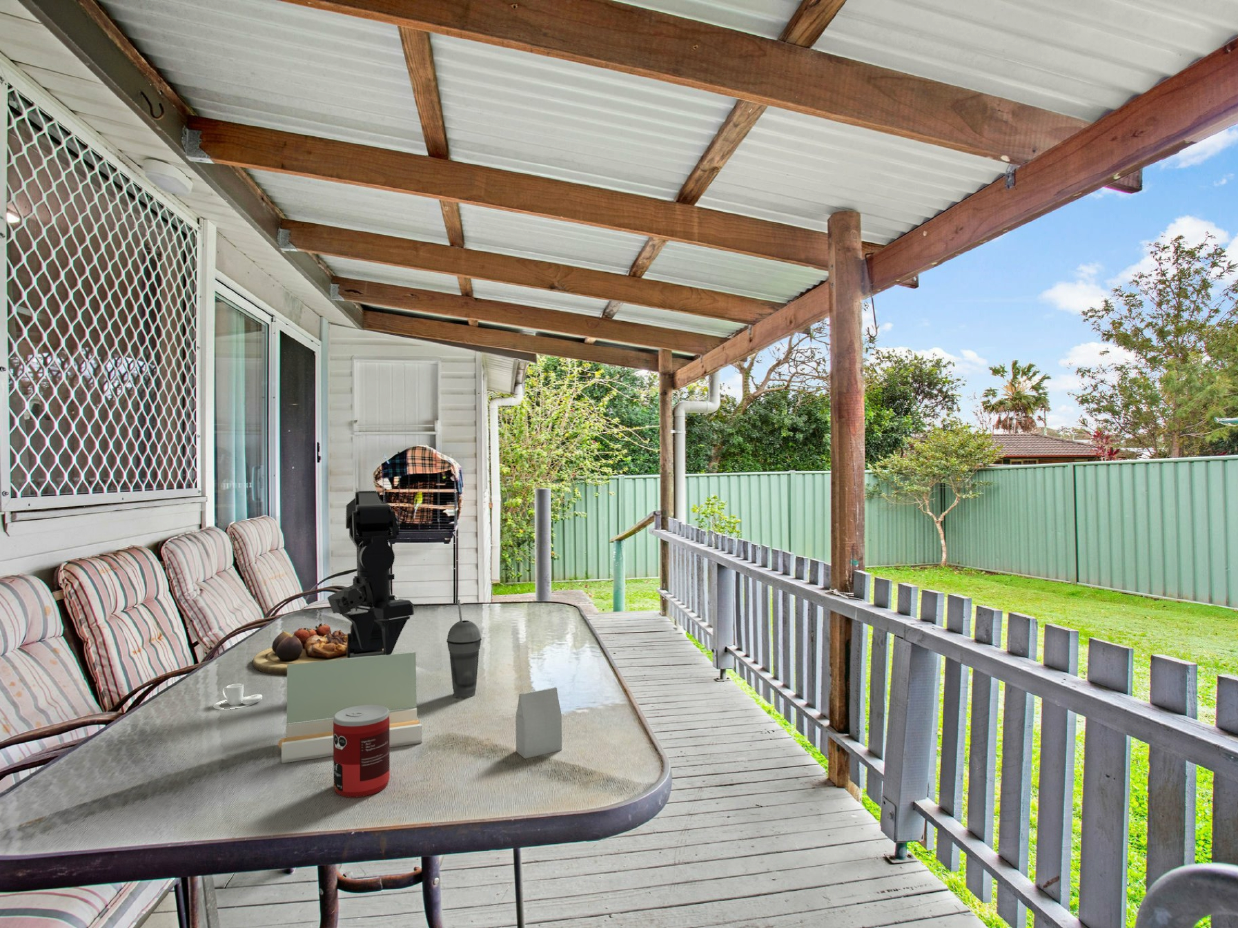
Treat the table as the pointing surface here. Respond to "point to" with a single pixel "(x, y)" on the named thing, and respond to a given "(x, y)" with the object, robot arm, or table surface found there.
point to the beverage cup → (464, 656)
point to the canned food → (361, 750)
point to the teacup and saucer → (237, 697)
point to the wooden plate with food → (302, 649)
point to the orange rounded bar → (332, 733)
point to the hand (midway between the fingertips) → (376, 651)
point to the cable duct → (325, 744)
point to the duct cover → (350, 685)
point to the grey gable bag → (538, 723)
